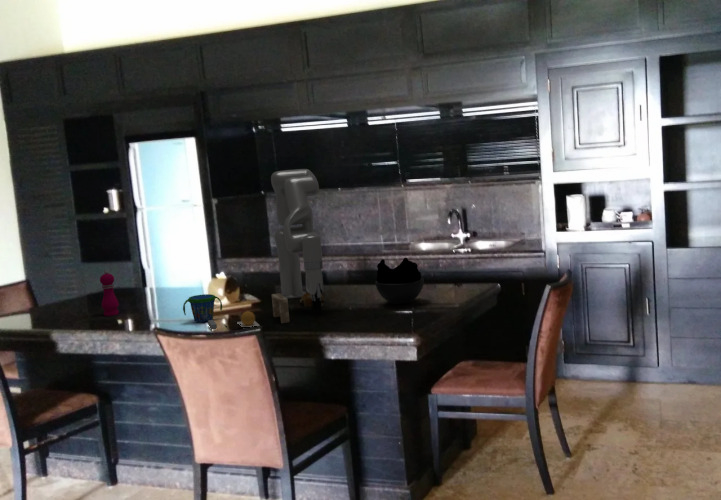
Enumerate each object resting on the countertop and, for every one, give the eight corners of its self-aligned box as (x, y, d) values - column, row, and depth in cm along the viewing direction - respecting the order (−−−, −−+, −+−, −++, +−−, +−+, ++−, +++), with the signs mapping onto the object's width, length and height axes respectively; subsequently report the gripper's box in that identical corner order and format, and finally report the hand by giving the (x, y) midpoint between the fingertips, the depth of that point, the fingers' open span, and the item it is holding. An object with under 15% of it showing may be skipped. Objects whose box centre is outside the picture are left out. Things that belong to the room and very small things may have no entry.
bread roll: (317, 315, 322) (324, 298, 320) (295, 306, 323) (301, 289, 322) (323, 310, 332) (329, 293, 330) (301, 301, 333) (307, 284, 331)
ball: (238, 312, 298) (251, 308, 300) (241, 326, 299) (255, 322, 300) (240, 314, 293) (254, 310, 295) (244, 328, 294) (257, 323, 295)
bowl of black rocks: (435, 300, 316) (432, 256, 313) (404, 310, 302) (401, 264, 299) (398, 296, 330) (395, 254, 327) (367, 306, 315) (363, 261, 313)
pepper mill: (123, 312, 341) (117, 268, 338) (113, 316, 334) (107, 271, 332) (109, 312, 344) (104, 268, 341) (99, 316, 337) (93, 271, 334)
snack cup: (222, 316, 318) (220, 292, 316) (224, 321, 308) (221, 296, 306) (184, 320, 314) (181, 296, 313) (184, 326, 304) (181, 301, 303)
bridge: (282, 323, 296) (280, 300, 295) (273, 316, 309) (271, 294, 308) (289, 322, 297) (287, 299, 296) (280, 315, 310) (278, 293, 309)
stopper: (208, 326, 300) (207, 320, 299) (213, 326, 300) (212, 319, 300) (212, 331, 291) (211, 325, 291) (217, 330, 292) (216, 324, 292)
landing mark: (223, 324, 302) (223, 324, 302) (253, 320, 306) (253, 319, 306) (229, 330, 290) (228, 330, 290) (259, 325, 294) (259, 325, 294)
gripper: (299, 264, 311) (303, 308, 314) (309, 269, 297) (313, 315, 300) (317, 262, 314) (320, 305, 316) (327, 266, 300) (331, 312, 302)
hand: (317, 310), depth 308 cm, fingers closed
